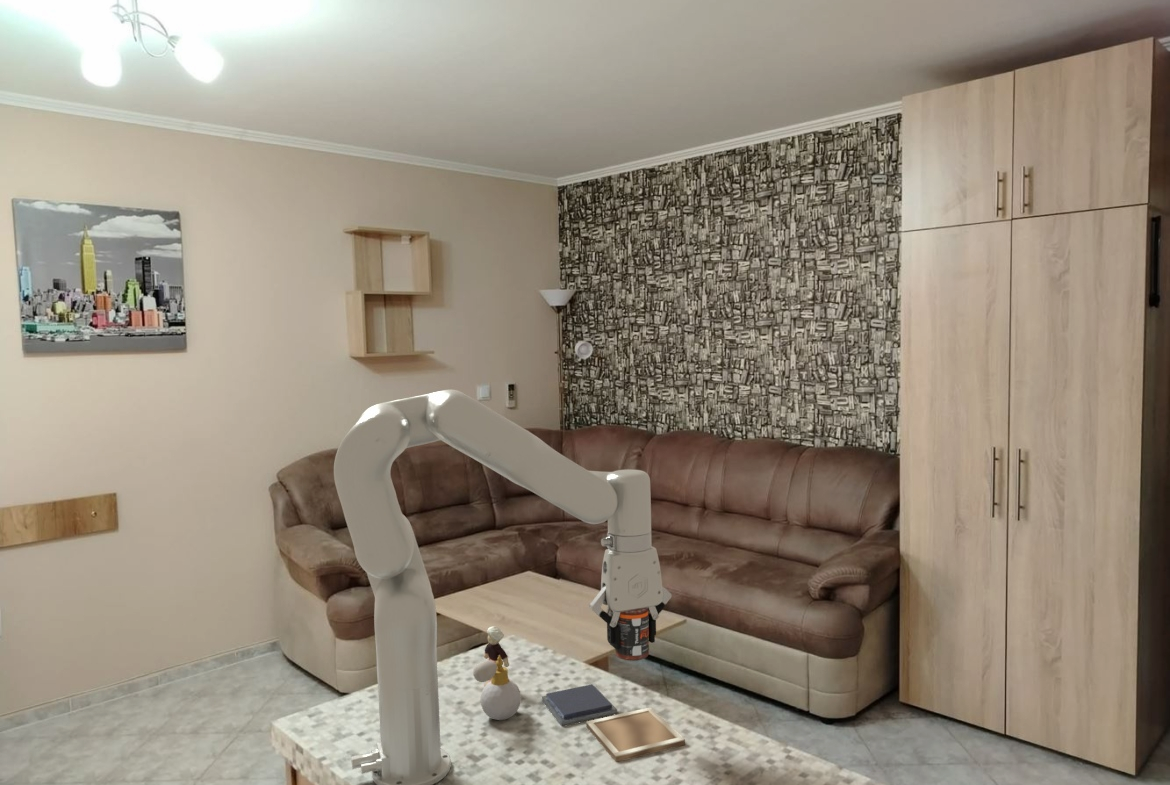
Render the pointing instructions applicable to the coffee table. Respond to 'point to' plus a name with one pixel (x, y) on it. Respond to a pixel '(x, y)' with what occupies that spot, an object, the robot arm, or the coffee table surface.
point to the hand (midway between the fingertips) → (632, 642)
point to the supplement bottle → (633, 635)
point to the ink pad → (578, 705)
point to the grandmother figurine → (495, 647)
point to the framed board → (634, 734)
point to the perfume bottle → (497, 690)
